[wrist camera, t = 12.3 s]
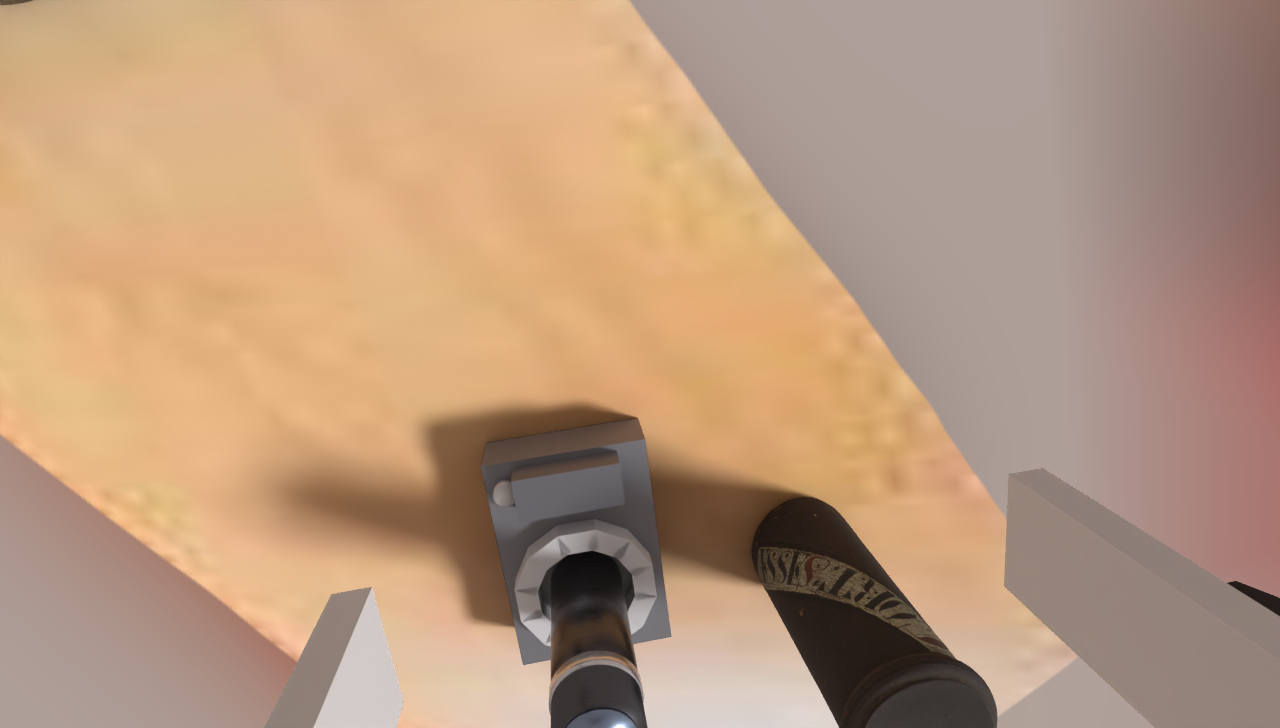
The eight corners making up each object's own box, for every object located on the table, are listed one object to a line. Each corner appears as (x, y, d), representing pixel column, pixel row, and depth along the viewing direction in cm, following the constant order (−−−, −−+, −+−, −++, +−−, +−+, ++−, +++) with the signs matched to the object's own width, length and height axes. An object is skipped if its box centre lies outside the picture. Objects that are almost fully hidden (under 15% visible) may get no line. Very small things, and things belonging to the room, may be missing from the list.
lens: (538, 601, 49) (533, 771, 35) (565, 539, 48) (571, 690, 34) (606, 620, 50) (627, 792, 36) (634, 560, 49) (666, 714, 35)
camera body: (486, 442, 49) (477, 479, 44) (637, 417, 50) (649, 451, 44) (525, 629, 54) (521, 684, 48) (662, 603, 55) (676, 655, 49)
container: (836, 478, 54) (993, 653, 35) (864, 570, 56) (1023, 779, 37) (733, 518, 54) (833, 716, 34) (765, 609, 56) (875, 838, 37)
